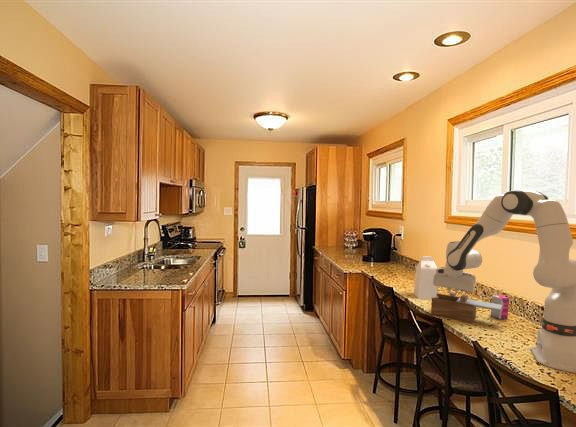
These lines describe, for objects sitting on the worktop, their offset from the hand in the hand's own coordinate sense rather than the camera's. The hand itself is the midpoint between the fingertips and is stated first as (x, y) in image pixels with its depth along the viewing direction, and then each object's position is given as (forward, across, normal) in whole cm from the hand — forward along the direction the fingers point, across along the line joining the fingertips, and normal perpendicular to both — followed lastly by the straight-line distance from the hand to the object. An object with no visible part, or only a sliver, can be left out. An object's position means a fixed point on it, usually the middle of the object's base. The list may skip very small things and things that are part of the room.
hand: (452, 296), depth 189 cm
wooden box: (+10, -1, 0) cm, 10 cm away
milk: (+11, +21, -30) cm, 38 cm away
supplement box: (+10, -21, -14) cm, 27 cm away
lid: (+2, -13, 0) cm, 13 cm away
